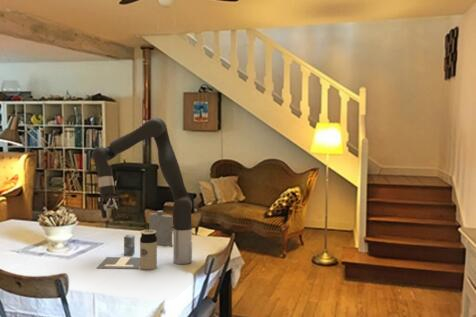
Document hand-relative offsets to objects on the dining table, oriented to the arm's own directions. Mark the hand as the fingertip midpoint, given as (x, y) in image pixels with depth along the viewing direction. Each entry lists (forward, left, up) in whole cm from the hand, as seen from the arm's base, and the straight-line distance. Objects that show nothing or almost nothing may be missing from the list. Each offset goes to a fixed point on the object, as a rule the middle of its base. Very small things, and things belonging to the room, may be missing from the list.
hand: (110, 217), depth 216 cm
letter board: (-6, +2, -23) cm, 24 cm away
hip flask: (-19, -33, -23) cm, 45 cm away
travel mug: (-21, +8, -23) cm, 32 cm away
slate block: (-6, -13, -23) cm, 27 cm away
